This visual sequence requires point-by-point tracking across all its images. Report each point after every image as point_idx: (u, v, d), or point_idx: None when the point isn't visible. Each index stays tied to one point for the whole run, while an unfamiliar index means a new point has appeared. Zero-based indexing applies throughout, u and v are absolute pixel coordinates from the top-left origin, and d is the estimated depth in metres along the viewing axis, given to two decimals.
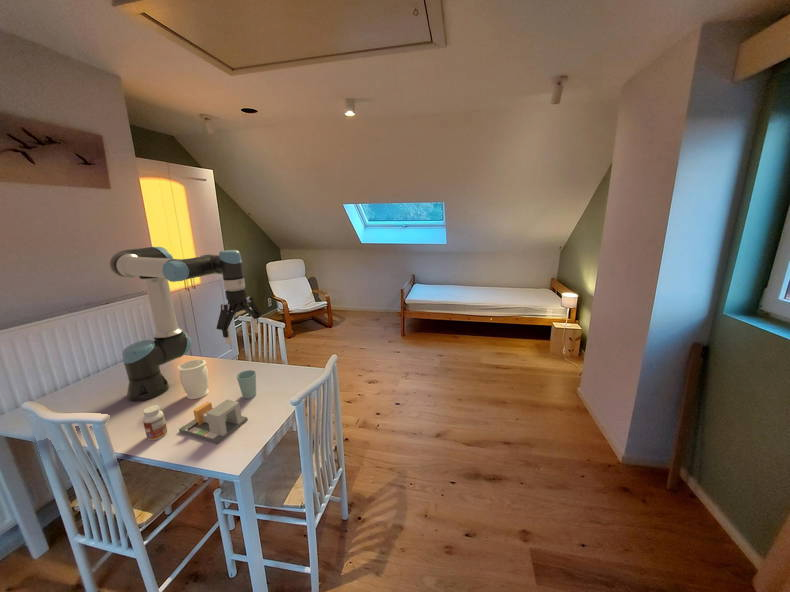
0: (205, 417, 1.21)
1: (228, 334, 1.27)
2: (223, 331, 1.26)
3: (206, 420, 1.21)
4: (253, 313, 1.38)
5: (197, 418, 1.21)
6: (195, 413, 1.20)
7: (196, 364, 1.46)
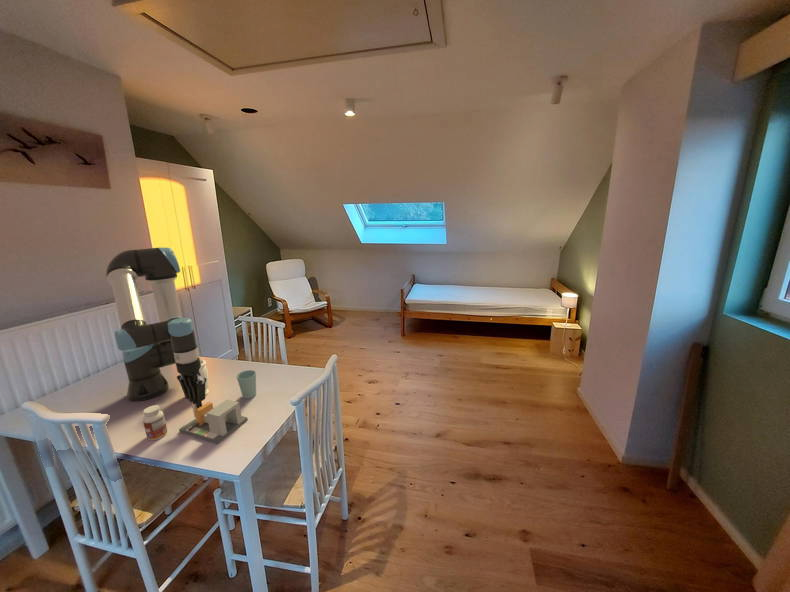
0: (206, 417, 1.21)
1: None
2: None
3: (207, 420, 1.21)
4: (193, 395, 1.21)
5: (198, 418, 1.20)
6: (196, 413, 1.20)
7: None
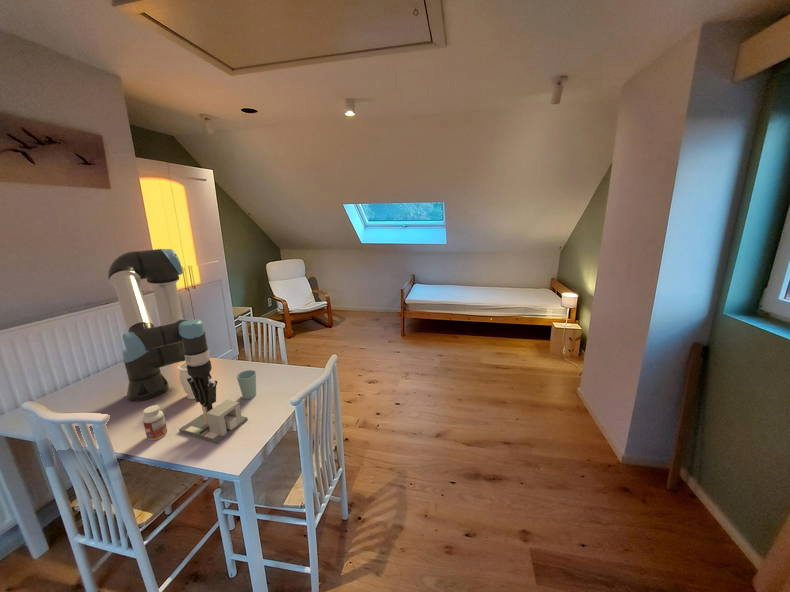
0: None
1: None
2: None
3: None
4: (204, 398, 1.19)
5: None
6: None
7: None
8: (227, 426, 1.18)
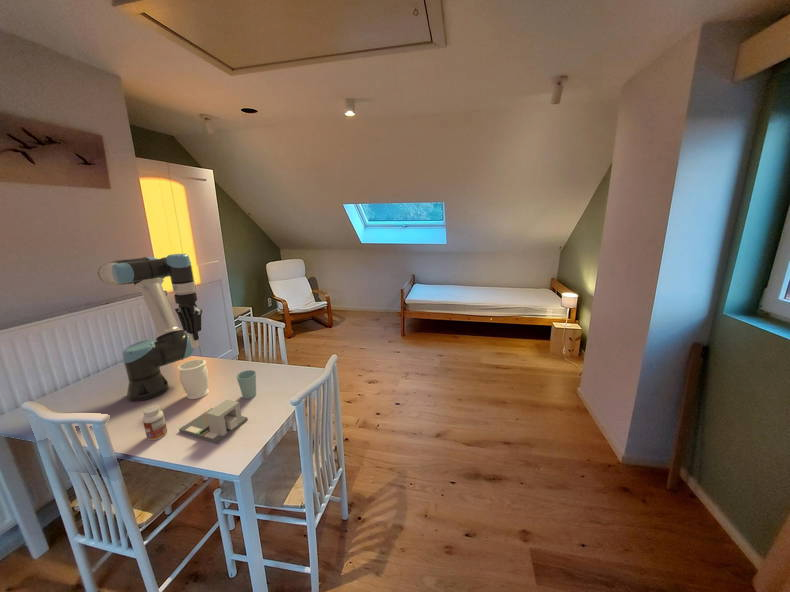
0: None
1: None
2: None
3: None
4: (190, 326, 1.32)
5: None
6: None
7: (196, 364, 1.46)
8: (227, 426, 1.18)
